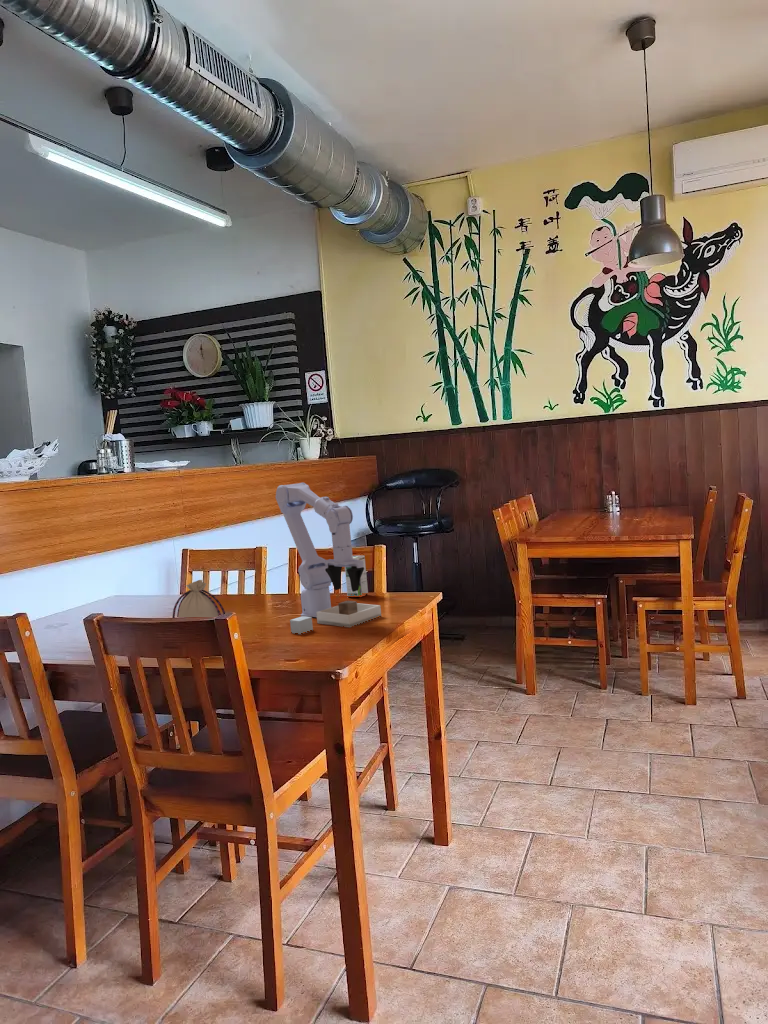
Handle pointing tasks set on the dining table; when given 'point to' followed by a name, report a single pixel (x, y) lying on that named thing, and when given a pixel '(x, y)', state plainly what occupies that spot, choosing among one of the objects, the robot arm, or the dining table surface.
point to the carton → (301, 624)
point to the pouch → (197, 602)
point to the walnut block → (347, 607)
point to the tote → (334, 618)
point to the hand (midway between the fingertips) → (346, 590)
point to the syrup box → (363, 579)
